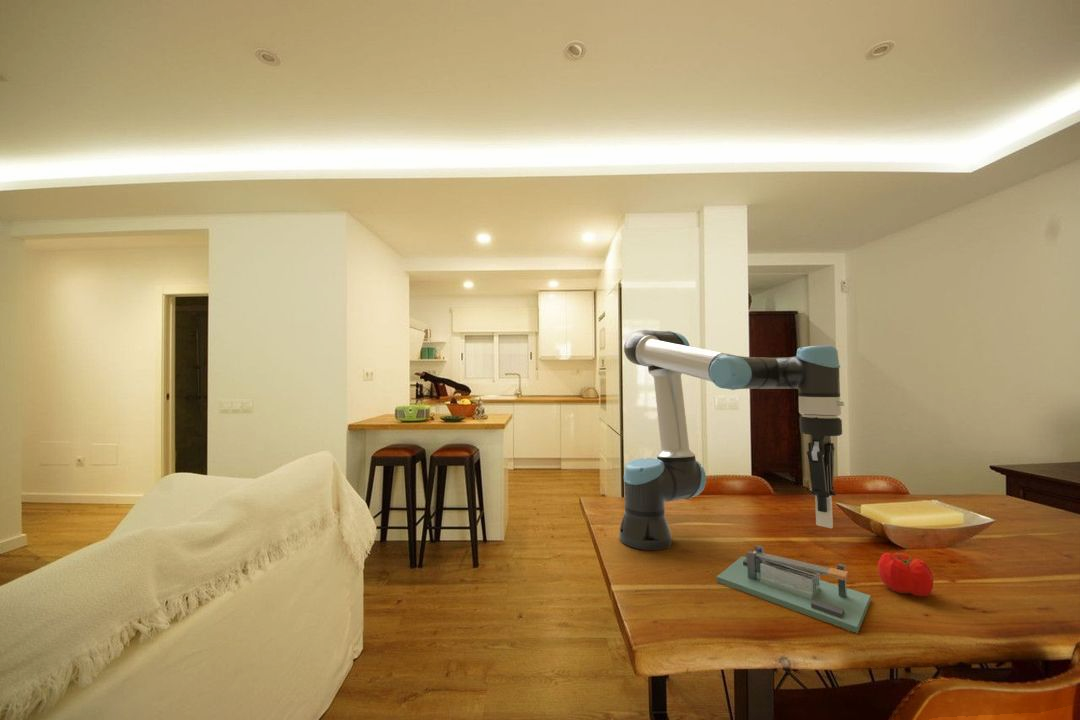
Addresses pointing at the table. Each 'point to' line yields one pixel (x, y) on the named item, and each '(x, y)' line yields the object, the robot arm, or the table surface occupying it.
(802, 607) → the board
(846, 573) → the silver flat strip
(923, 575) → the tomato
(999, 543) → the table surface
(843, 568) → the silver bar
